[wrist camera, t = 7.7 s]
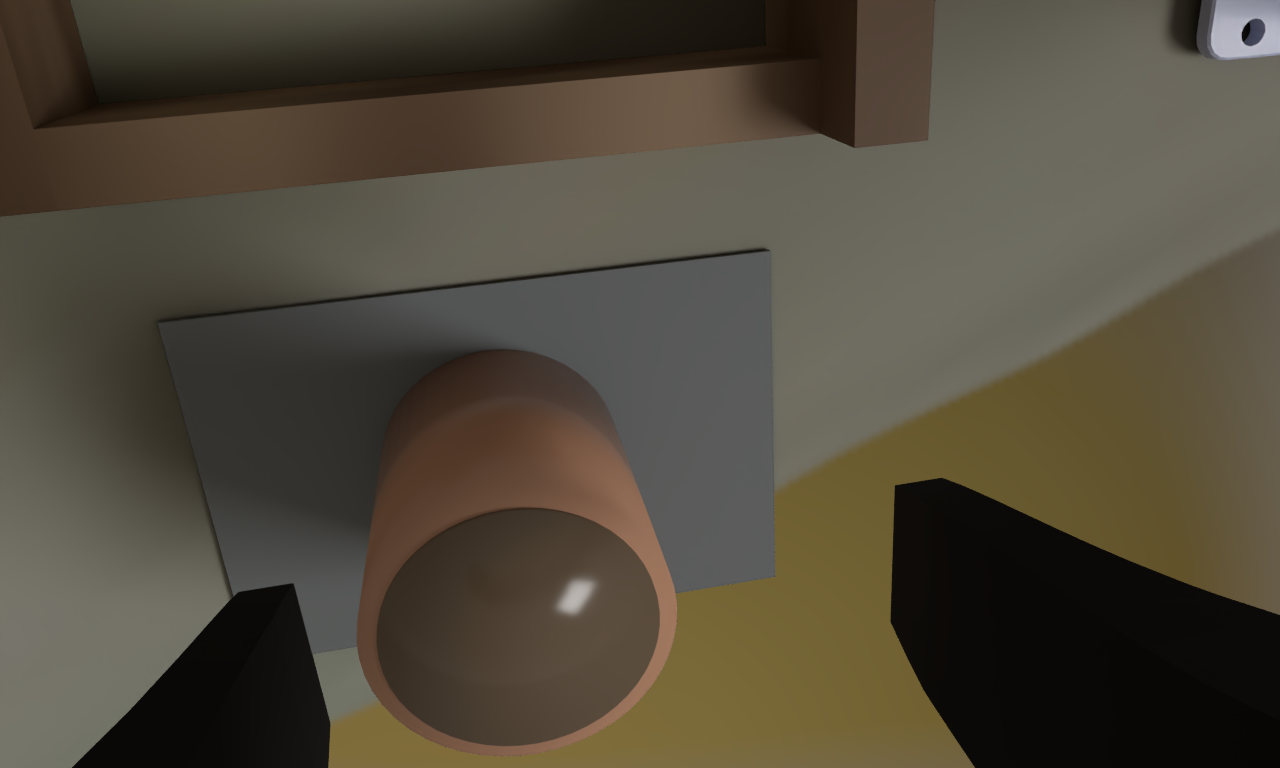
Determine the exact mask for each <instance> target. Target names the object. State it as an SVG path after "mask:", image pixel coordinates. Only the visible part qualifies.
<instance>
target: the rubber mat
mask: <svg viewBox="0 0 1280 768" xmlns="http://www.w3.org/2000/svg"><path fill="white" fill-rule="evenodd" d="M158 327H159V330H160V334H161V338H162V341H163V345H164V348H165V352H166V356H167V359H168V363H169V366H170V370H171V374H172V377H173V381H174V384H175V388H176V392H177V395H178V399H179V402H180V406H181V409H182V413H183V417H184V420H185V424H186V427H187V431H188V435H189V438H190V442H191V445H192V449H193V453H194V456H195V460H196V463H197V467H198V471H199V474H200V478H201V481H202V485H203V489H204V492H205V496H206V499H207V503H208V506H209V510H210V514H211V517H212V521H213V524H214V528H215V532H216V535H217V539H218V542H219V546H220V550H221V553H222V557H223V560H224V564H225V568H226V571H227V575H228V578H229V582H230V586H231V589H232V593H233V596H235V595H236V594H237V593H238V592H241V591H247V590H253V589H259V588H266V587H272V586H278V585H284V584H290V583H294V586H295V590H296V594H297V598H298V602H299V605H300V609H301V613H302V617H303V621H304V625H305V628H306V632H307V636H308V640H309V644H310V647H311V651H312V654H315V653H321V652H327V651H333V650H339V649H345V648H351V647H357V619H358V612H359V605H360V598H361V591H362V584H363V577H364V570H365V563H366V556H367V549H368V542H369V534H370V527H371V520H372V513H373V506H374V499H375V492H376V485H377V478H378V471H379V464H380V457H381V450H382V444H383V439H384V434H385V431H386V428H387V425H388V422H389V420H390V418H391V416H392V414H393V412H394V410H395V408H396V407H397V405H398V404H399V402H400V401H401V399H402V398H403V397H404V395H405V394H406V393H407V392H408V391H409V390H410V389H411V388H412V387H413V385H414V384H416V383H417V382H418V381H419V380H420V379H422V378H423V377H424V376H425V375H426V374H428V373H429V372H431V371H433V370H434V369H436V368H437V367H439V366H440V365H443V364H445V363H447V362H449V361H451V360H453V359H456V358H459V357H462V356H465V355H468V354H471V353H476V352H481V351H487V350H501V349H506V350H521V351H526V352H532V353H536V354H540V355H543V356H546V357H549V358H552V359H554V360H556V361H558V362H560V363H563V364H565V365H566V366H568V367H569V368H571V369H573V370H574V371H576V372H577V373H578V374H580V375H581V376H582V377H583V378H584V379H586V380H587V381H588V382H589V383H590V384H591V385H592V386H593V388H594V389H595V390H596V391H597V392H598V393H599V395H600V396H601V398H602V399H603V401H604V402H605V404H606V405H607V408H608V410H609V412H610V414H611V416H612V418H613V421H614V424H615V426H616V429H617V432H618V434H619V437H620V440H621V442H622V445H623V448H624V451H625V453H626V456H627V459H628V461H629V464H630V467H631V469H632V472H633V475H634V478H635V480H636V483H637V486H638V488H639V491H640V494H641V496H642V499H643V502H644V505H645V507H646V510H647V513H648V515H649V518H650V521H651V523H652V526H653V529H654V532H655V534H656V537H657V540H658V542H659V545H660V548H661V550H662V553H663V556H664V559H665V561H666V564H667V567H668V569H669V572H670V575H671V578H672V582H673V585H674V589H675V593H681V592H686V591H693V590H698V589H704V588H710V587H716V586H722V585H729V584H734V583H740V582H746V581H752V580H758V579H764V578H770V577H775V540H774V539H775V538H774V537H775V535H774V533H775V532H774V462H773V393H772V323H771V254H770V250H762V251H754V252H745V253H737V254H728V255H720V256H711V257H703V258H694V259H686V260H677V261H669V262H660V263H652V264H643V265H635V266H626V267H618V268H609V269H601V270H592V271H584V272H575V273H567V274H558V275H550V276H541V277H533V278H525V279H516V280H508V281H499V282H491V283H482V284H474V285H465V286H457V287H448V288H440V289H431V290H423V291H414V292H406V293H397V294H389V295H380V296H372V297H363V298H355V299H346V300H338V301H329V302H321V303H312V304H304V305H296V306H287V307H279V308H270V309H262V310H253V311H245V312H236V313H228V314H219V315H211V316H202V317H194V318H185V319H177V320H168V321H160V322H158Z"/></svg>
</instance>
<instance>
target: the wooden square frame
mask: <svg viewBox="0 0 1280 768" xmlns="http://www.w3.org/2000/svg"><path fill="white" fill-rule="evenodd" d="M934 6H935V0H765V17H766V46H760V47H749V48H737V49H726V50H714V51H703V52H691V53H680V54H668V55H657V56H646V57H634V58H623V59H611V60H600V61H588V62H577V63H565V64H554V65H542V66H531V67H520V68H508V69H497V70H485V71H474V72H462V73H451V74H439V75H428V76H417V77H405V78H394V79H382V80H371V81H359V82H348V83H336V84H325V85H314V86H302V87H291V88H279V89H268V90H256V91H245V92H233V93H222V94H210V95H199V96H188V97H176V98H165V99H153V100H142V101H130V102H119V103H107V104H98V100H97V97H96V93H95V90H94V86H93V82H92V79H91V75H90V72H89V68H88V64H87V61H86V57H85V54H84V50H83V46H82V43H81V39H80V36H79V32H78V28H77V25H76V21H75V18H74V14H73V10H72V7H71V3H70V0H0V216H10V215H20V214H30V213H40V212H50V211H60V210H70V209H79V208H89V207H99V206H109V205H119V204H129V203H139V202H149V201H158V200H168V199H178V198H188V197H198V196H208V195H218V194H228V193H237V192H247V191H257V190H267V189H277V188H287V187H297V186H307V185H316V184H326V183H336V182H346V181H356V180H366V179H376V178H386V177H395V176H405V175H415V174H425V173H435V172H445V171H455V170H465V169H474V168H484V167H494V166H504V165H514V164H524V163H534V162H544V161H553V160H563V159H573V158H583V157H593V156H603V155H613V154H623V153H632V152H642V151H652V150H662V149H672V148H682V147H692V146H702V145H711V144H721V143H731V142H741V141H751V140H761V139H771V138H781V137H790V136H800V135H810V134H820V133H821V134H823V135H825V136H828V137H830V138H832V139H835V140H837V141H839V142H842V143H844V144H847V145H849V146H851V147H854V148H859V147H868V146H878V145H888V144H897V143H907V142H917V141H926V140H928V129H929V108H930V88H931V67H932V47H933V27H934Z"/></svg>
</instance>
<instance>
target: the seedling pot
mask: <svg viewBox="0 0 1280 768" xmlns="http://www.w3.org/2000/svg"><path fill="white" fill-rule="evenodd" d="M676 622H677V602H676V595H675V589H674V585H673V582H672V578H671V575H670V572H669V569H668V567H667V564H666V561H665V559H664V556H663V553H662V550H661V548H660V545H659V542H658V540H657V537H656V534H655V532H654V529H653V526H652V523H651V521H650V518H649V515H648V513H647V510H646V507H645V505H644V502H643V499H642V496H641V494H640V491H639V488H638V486H637V483H636V480H635V478H634V475H633V472H632V469H631V467H630V464H629V461H628V459H627V456H626V453H625V451H624V448H623V445H622V442H621V440H620V437H619V434H618V432H617V429H616V426H615V424H614V421H613V418H612V416H611V414H610V412H609V410H608V408H607V405H606V404H605V402H604V401H603V399H602V398H601V396H600V395H599V393H598V392H597V391H596V390H595V389H594V388H593V386H592V385H591V384H590V383H589V382H588V381H587V380H586V379H584V378H583V377H582V376H581V375H580V374H578V373H577V372H576V371H574V370H573V369H571V368H569V367H568V366H566V365H565V364H563V363H560V362H558V361H556V360H554V359H552V358H549V357H546V356H543V355H540V354H536V353H532V352H526V351H521V350H506V349H501V350H487V351H481V352H476V353H471V354H468V355H465V356H462V357H459V358H456V359H453V360H451V361H449V362H447V363H445V364H443V365H440V366H439V367H437V368H436V369H434V370H433V371H431V372H429V373H428V374H426V375H425V376H424V377H423V378H422V379H420V380H419V381H418V382H417V383H416V384H414V385H413V387H412V388H411V389H410V390H409V391H408V392H407V393H406V394H405V395H404V397H403V398H402V399H401V401H400V402H399V404H398V405H397V407H396V408H395V410H394V412H393V414H392V416H391V418H390V420H389V422H388V425H387V428H386V431H385V434H384V439H383V444H382V450H381V457H380V464H379V471H378V478H377V485H376V492H375V499H374V506H373V513H372V520H371V527H370V534H369V542H368V549H367V556H366V563H365V570H364V577H363V584H362V591H361V598H360V605H359V612H358V619H357V647H358V654H359V660H360V663H361V666H362V669H363V672H364V675H365V677H366V679H367V681H368V683H369V685H370V687H371V689H372V691H373V692H374V694H375V695H376V697H377V698H378V699H379V701H380V702H381V703H382V705H383V706H384V707H385V708H386V709H387V710H388V711H389V712H390V713H391V714H392V715H393V716H394V717H395V718H396V719H397V720H398V721H400V722H401V723H402V724H404V725H405V726H406V727H407V728H409V729H410V730H412V731H413V732H415V733H417V734H419V735H420V736H422V737H424V738H426V739H428V740H430V741H433V742H435V743H437V744H440V745H442V746H444V747H448V748H452V749H455V750H458V751H462V752H467V753H473V754H478V755H489V756H519V755H520V756H521V755H528V754H535V753H541V752H546V751H549V750H554V749H558V748H561V747H564V746H567V745H569V744H573V743H575V742H578V741H580V740H582V739H584V738H587V737H589V736H591V735H593V734H595V733H597V732H598V731H600V730H602V729H603V728H605V727H607V726H608V725H610V724H612V723H613V722H614V721H616V720H617V719H618V718H620V717H621V716H622V715H624V714H625V713H626V712H627V711H628V710H629V709H630V708H632V707H633V706H634V705H635V704H636V703H637V702H638V701H639V700H640V699H641V698H642V696H643V695H644V694H645V693H646V692H647V690H648V689H649V688H650V687H651V686H652V684H653V683H654V681H655V680H656V678H657V676H658V675H659V673H660V672H661V670H662V668H663V666H664V664H665V662H666V660H667V658H668V655H669V653H670V649H671V646H672V643H673V640H674V635H675V629H676Z"/></svg>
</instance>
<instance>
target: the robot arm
mask: <svg viewBox="0 0 1280 768" xmlns="http://www.w3.org/2000/svg"><path fill="white" fill-rule="evenodd" d="M1248 22H1250V28H1251V30H1250V33H1249V36H1248V38H1247V39H1246V40H1245V41H1244V42H1243V41H1242V34H1241V33H1242V31H1243V28H1244V26H1245V25H1246V24H1247V23H1248ZM1197 47H1198V49H1199V51H1200V53H1201V54H1202V55H1203V56H1205V57H1206V58H1210V59H1218V60H1233V59H1244V58H1254V57H1264V56H1275V55H1280V0H1202V3H1201V10H1200V16H1199V23H1198V30H1197ZM893 532H894V533H893V561H892V562H893V564H892V593H891V624H892V626H893V628H894V630H895V632H896V635H897V637H898V638H899V641H900V643H901V645H902V647H903V649H904V652H905V654H906V656H907V658H908V660H909V662H910V664H911V666H912V668H913V670H914V672H915V674H916V676H917V678H918V680H919V682H920V684H921V686H922V687H923V690H924V691H925V693H926V694H927V696H928V697H929V699H930V701H931V702H932V704H933V705H934V707H935V708H936V710H937V711H938V713H939V714H940V716H941V717H942V719H943V720H944V722H945V723H946V725H947V726H948V728H949V729H950V731H951V733H952V734H953V736H954V737H955V739H956V740H957V742H958V743H959V744H960V746H961V748H962V749H963V750H964V752H965V753H966V755H967V756H968V758H969V759H970V761H971V762H972V764H973V765H974V767H975V768H1280V615H1277V614H1275V613H1272V612H1269V611H1266V610H1263V609H1259V608H1256V607H1253V606H1250V605H1247V604H1244V603H1241V602H1238V601H1235V600H1232V599H1229V598H1226V597H1223V596H1220V595H1216V594H1214V593H1211V592H1208V591H1206V590H1203V589H1200V588H1197V587H1194V586H1192V585H1189V584H1186V583H1184V582H1181V581H1178V580H1176V579H1174V578H1171V577H1169V576H1166V575H1163V574H1161V573H1158V572H1156V571H1153V570H1151V569H1148V568H1146V567H1143V566H1141V565H1138V564H1136V563H1133V562H1131V561H1128V560H1126V559H1124V558H1121V557H1119V556H1117V555H1114V554H1112V553H1110V552H1107V551H1105V550H1103V549H1100V548H1098V547H1096V546H1094V545H1091V544H1089V543H1087V542H1085V541H1082V540H1080V539H1078V538H1076V537H1074V536H1071V535H1069V534H1067V533H1065V532H1063V531H1060V530H1058V529H1056V528H1054V527H1052V526H1050V525H1047V524H1045V523H1043V522H1041V521H1039V520H1037V519H1034V518H1032V517H1030V516H1028V515H1026V514H1024V513H1022V512H1020V511H1018V510H1015V509H1013V508H1011V507H1009V506H1007V505H1005V504H1003V503H1000V502H998V501H996V500H994V499H992V498H989V497H987V496H985V495H983V494H981V493H978V492H976V491H974V490H972V489H969V488H967V487H965V486H962V485H959V484H957V483H954V482H951V481H949V480H946V479H943V478H938V479H932V480H925V481H919V482H913V483H907V484H901V485H895V500H894V531H893ZM329 741H330V720H329V716H328V713H327V709H326V705H325V701H324V697H323V693H322V690H321V686H320V682H319V678H318V674H317V670H316V667H315V663H314V659H313V655H312V651H311V647H310V644H309V640H308V636H307V632H306V628H305V625H304V621H303V617H302V613H301V609H300V605H299V602H298V598H297V594H296V590H295V586H294V583H290V584H284V585H278V586H272V587H266V588H259V589H253V590H247V591H241V592H238V593H237V594H236V595H235V596H234V597H233V598H232V599H231V600H230V601H229V602H228V603H227V604H226V605H225V606H224V607H223V608H222V609H221V611H220V612H219V613H218V614H217V615H216V616H215V617H214V618H213V619H212V621H211V622H210V623H209V624H208V625H207V626H206V627H205V628H204V630H203V631H202V632H201V633H200V634H199V635H198V636H197V637H196V639H195V640H194V641H193V642H192V643H191V644H190V645H189V646H188V648H187V649H186V650H185V651H184V652H183V653H182V654H181V655H180V656H179V658H178V659H177V660H176V661H175V662H174V663H173V664H172V665H171V666H170V667H169V668H168V670H167V671H166V672H165V673H164V674H163V675H162V676H161V677H160V678H159V679H158V680H157V681H156V683H155V684H154V685H153V686H152V687H151V688H150V689H149V690H148V691H147V692H146V693H145V695H144V696H143V697H142V698H141V699H140V700H139V701H138V702H137V703H136V704H135V705H134V706H133V707H132V708H131V710H130V711H129V712H128V713H127V714H126V715H125V716H124V717H123V718H122V719H121V720H120V721H119V722H118V723H117V724H116V725H115V726H114V727H113V728H111V729H110V730H109V731H108V732H107V733H106V734H105V735H104V736H103V737H102V738H101V739H100V740H99V741H98V742H97V743H96V744H95V745H94V746H93V747H92V748H91V749H90V750H89V751H88V752H87V753H86V754H85V755H84V756H83V757H82V758H81V759H80V760H79V761H78V762H77V763H76V764H75V765H74V766H73V767H72V768H328V761H329V760H328V759H329Z"/></svg>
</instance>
